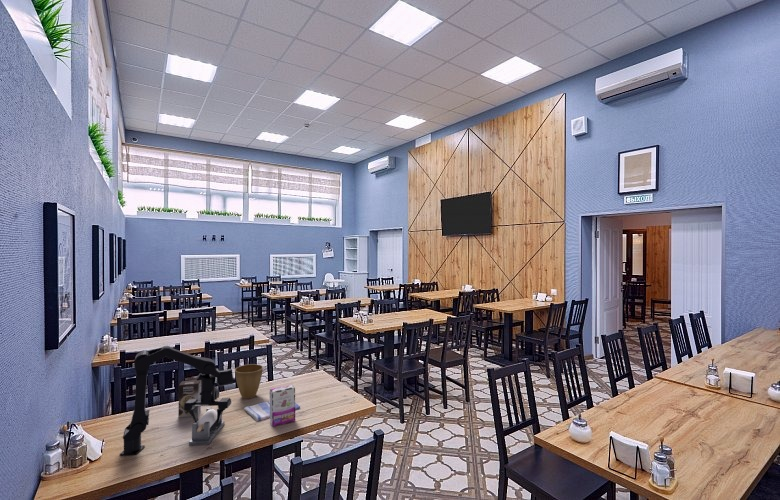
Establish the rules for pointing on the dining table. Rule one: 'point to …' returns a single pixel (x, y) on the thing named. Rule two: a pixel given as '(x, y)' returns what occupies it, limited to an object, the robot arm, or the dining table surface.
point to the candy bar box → (282, 405)
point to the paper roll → (207, 419)
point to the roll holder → (205, 432)
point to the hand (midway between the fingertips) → (207, 422)
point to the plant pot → (248, 379)
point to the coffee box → (188, 395)
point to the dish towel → (261, 410)
